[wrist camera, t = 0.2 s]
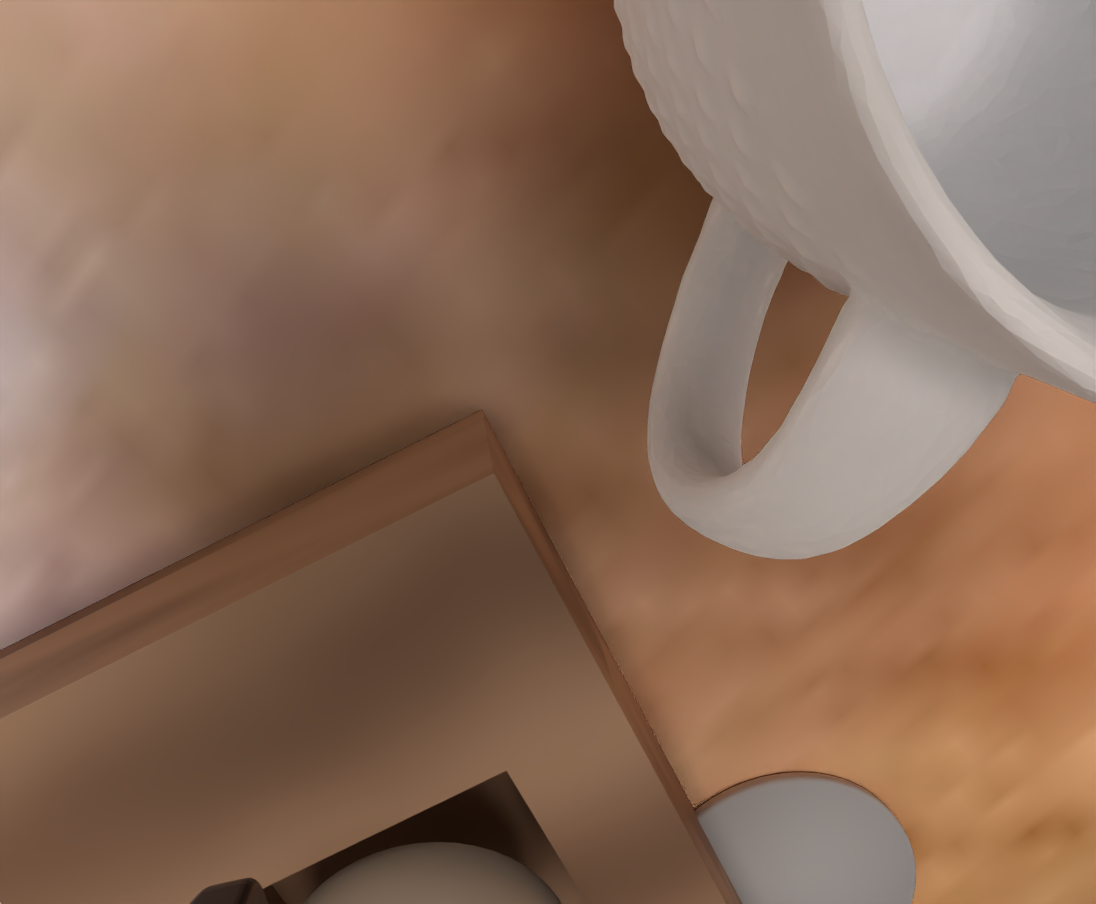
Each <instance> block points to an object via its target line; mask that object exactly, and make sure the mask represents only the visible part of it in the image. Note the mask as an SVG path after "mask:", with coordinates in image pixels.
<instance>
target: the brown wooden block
mask: <svg viewBox="0 0 1096 904" xmlns="http://www.w3.org/2000/svg"><path fill="white" fill-rule="evenodd" d="M428 842H450V843H461V844H467V845H474V846H478V847H482V848H485V849H489V850H493V851H495V852H498V853H500V854H503V855H505V856H508V857H510V858H512V859H514V860H516V861H517V862H519V863H521V864H523V865H524V866H526V867H527V868H529V869H530V870H531V871H533V872H534V873H535V874H537V875H538V876H539V877H540V878H541V879H542V880H543V881H544V882H545V883H546V884H547V885H548V886H549V887H550V888H551V889H552V890H553V892H554V893H555V895H556V896H557V897H558V899H559V900H560V902H561V904H742V902H741V900H740V898H739V896H738V894H737V892H736V890H735V889H734V887H733V885H732V883H731V881H730V879H729V877H728V875H727V873H726V872H725V870H724V868H723V866H722V864H721V862H720V860H719V858H718V857H717V855H716V853H715V851H714V849H713V847H712V845H711V843H710V842H709V840H708V838H707V836H706V834H705V832H704V830H703V828H702V826H701V825H700V823H699V821H698V818H697V816H696V813H695V810H694V809H693V807H692V805H691V803H690V801H689V799H688V797H687V795H686V794H685V792H684V790H683V788H682V786H681V784H680V782H679V780H678V778H677V777H676V775H675V773H674V771H673V769H672V767H671V765H670V763H669V762H668V760H667V758H666V756H665V754H664V752H663V750H662V748H661V746H660V745H659V743H658V741H657V739H656V737H655V735H654V733H653V731H652V730H651V728H650V726H649V724H648V722H647V720H646V718H645V716H644V714H643V713H642V711H641V709H640V707H639V705H638V703H637V701H636V699H635V698H634V696H633V694H632V692H631V690H630V688H629V686H628V684H627V682H626V681H625V679H624V677H623V675H622V673H621V671H620V669H619V667H618V665H617V664H616V662H615V660H614V658H613V656H612V654H611V652H610V650H609V649H608V647H607V645H606V643H605V641H604V639H603V637H602V635H601V633H600V632H599V630H598V628H597V626H596V624H595V622H594V620H593V618H592V617H591V615H590V613H589V611H588V609H587V607H586V605H585V603H584V601H583V600H582V598H581V596H580V594H579V592H578V590H577V588H576V586H575V585H574V583H573V581H572V579H571V577H570V575H569V573H568V571H567V569H566V568H565V566H564V564H563V562H562V560H561V558H560V556H559V554H558V553H557V551H556V549H555V547H554V545H553V543H552V541H551V539H550V537H549V536H548V534H547V532H546V530H545V528H544V526H543V524H542V522H541V520H540V519H539V517H538V515H537V513H536V511H535V509H534V507H533V505H532V504H531V502H530V500H529V498H528V496H527V494H526V492H525V490H524V488H523V487H522V485H521V483H520V481H519V479H518V477H517V475H516V473H515V472H514V470H513V468H512V466H511V464H510V462H509V460H508V458H507V456H506V455H505V453H504V451H503V449H502V447H501V445H500V443H499V441H498V440H497V438H496V436H495V434H494V432H493V430H492V428H491V426H490V424H489V423H488V421H487V419H486V417H485V415H484V413H483V411H482V410H480V411H478V412H476V413H474V414H472V415H470V416H468V417H466V418H464V419H462V420H460V421H458V422H456V423H454V424H452V425H450V426H448V427H446V428H444V429H442V430H440V431H438V432H436V433H434V434H432V435H430V436H428V437H426V438H424V439H422V440H420V441H418V442H416V443H414V444H412V445H410V446H408V447H406V448H404V449H402V450H400V451H398V452H396V453H394V454H392V455H390V456H388V457H386V458H384V459H382V460H380V461H378V462H376V463H374V464H372V465H370V466H368V467H366V468H364V469H362V470H360V471H358V472H356V473H354V474H352V475H350V476H348V477H346V478H344V479H342V480H340V481H338V482H336V483H334V484H332V485H330V486H328V487H326V488H324V489H322V490H320V491H318V492H316V493H314V494H312V495H310V496H308V497H306V498H304V499H302V500H300V501H298V502H296V503H294V504H292V505H290V506H288V507H286V508H284V509H282V510H280V511H278V512H276V513H274V514H272V515H270V516H268V517H266V518H264V519H262V520H260V521H258V522H256V523H254V524H252V525H250V526H248V527H246V528H244V529H242V530H240V531H238V532H236V533H234V534H232V535H230V536H228V537H226V538H224V539H222V540H220V541H218V542H216V543H214V544H212V545H210V546H208V547H206V548H204V549H202V550H200V551H198V552H196V553H194V554H192V555H190V556H188V557H186V558H184V559H182V560H180V561H178V562H176V563H174V564H172V565H170V566H168V567H166V568H164V569H162V570H160V571H158V572H156V573H154V574H152V575H151V576H149V577H147V578H145V579H143V580H141V581H139V582H137V583H135V584H133V585H131V586H129V587H127V588H125V589H123V590H121V591H119V592H117V593H115V594H113V595H111V596H109V597H107V598H105V599H103V600H101V601H99V602H97V603H95V604H93V605H91V606H89V607H87V608H85V609H83V610H81V611H79V612H77V613H75V614H73V615H71V616H69V617H67V618H65V619H63V620H61V621H59V622H57V623H55V624H53V625H51V626H49V627H47V628H45V629H43V630H41V631H39V632H37V633H35V634H33V635H31V636H29V637H27V638H25V639H23V640H21V641H19V642H17V643H15V644H13V645H11V646H9V647H7V648H5V649H3V650H1V651H0V902H1V903H2V904H190V902H191V901H192V900H193V899H194V898H195V897H196V896H197V895H198V894H199V893H200V892H201V891H202V890H203V889H205V888H206V887H209V886H212V885H216V884H221V883H225V882H230V881H235V880H239V879H244V878H253V879H255V880H257V881H258V882H259V883H260V885H261V886H262V888H263V890H264V893H265V895H266V899H267V902H268V904H303V903H304V902H305V901H306V900H307V899H308V897H309V896H310V895H311V894H312V893H313V892H314V891H315V890H316V889H317V888H318V887H319V886H320V885H321V884H322V883H323V882H325V881H326V880H327V879H328V878H330V877H331V876H333V875H334V874H335V873H337V872H338V871H340V870H341V869H343V868H345V867H346V866H348V865H350V864H352V863H354V862H355V861H357V860H360V859H362V858H364V857H367V856H369V855H372V854H374V853H376V852H380V851H383V850H387V849H390V848H393V847H398V846H403V845H409V844H415V843H428Z"/></svg>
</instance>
